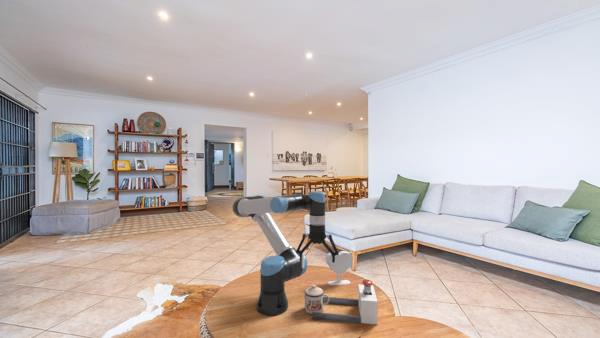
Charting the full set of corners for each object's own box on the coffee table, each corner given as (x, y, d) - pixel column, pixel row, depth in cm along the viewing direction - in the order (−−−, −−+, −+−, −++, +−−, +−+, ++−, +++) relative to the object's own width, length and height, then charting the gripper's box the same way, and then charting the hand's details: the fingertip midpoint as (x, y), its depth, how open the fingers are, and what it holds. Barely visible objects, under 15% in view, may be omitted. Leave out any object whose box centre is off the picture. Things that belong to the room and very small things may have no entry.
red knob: (362, 298, 123) (363, 283, 123) (362, 294, 127) (362, 279, 127) (372, 299, 122) (372, 284, 122) (371, 294, 126) (371, 279, 126)
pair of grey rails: (311, 319, 120) (311, 313, 120) (315, 300, 136) (315, 296, 136) (360, 323, 117) (361, 317, 117) (358, 304, 133) (358, 299, 133)
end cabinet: (360, 323, 117) (361, 300, 117) (358, 304, 133) (358, 284, 133) (377, 324, 116) (377, 301, 116) (372, 305, 132) (373, 285, 132)
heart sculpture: (349, 279, 162) (350, 250, 162) (353, 283, 157) (353, 252, 157) (325, 281, 159) (325, 251, 159) (327, 285, 154) (327, 254, 154)
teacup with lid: (305, 315, 123) (305, 290, 123) (303, 305, 132) (303, 281, 132) (330, 314, 124) (331, 289, 124) (327, 304, 133) (327, 281, 133)
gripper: (290, 224, 126) (290, 269, 126) (343, 226, 122) (343, 272, 122) (292, 221, 133) (292, 264, 133) (343, 223, 130) (343, 266, 130)
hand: (317, 268), depth 128 cm, fingers open, 13 cm apart
